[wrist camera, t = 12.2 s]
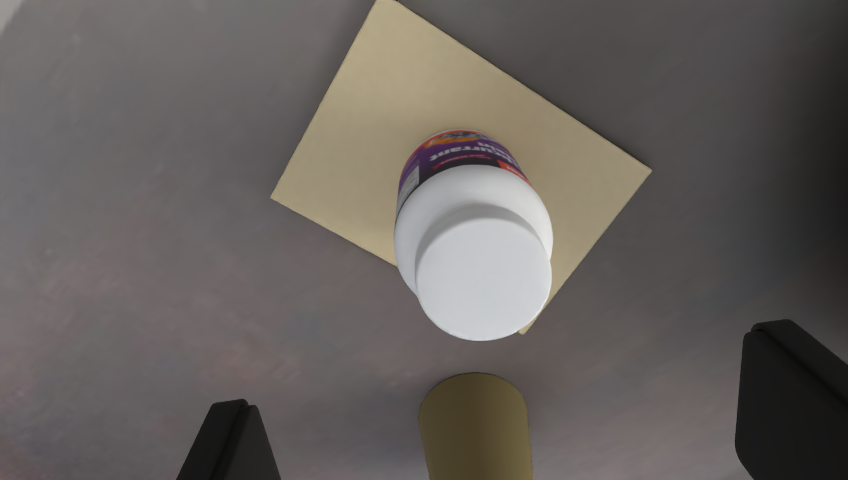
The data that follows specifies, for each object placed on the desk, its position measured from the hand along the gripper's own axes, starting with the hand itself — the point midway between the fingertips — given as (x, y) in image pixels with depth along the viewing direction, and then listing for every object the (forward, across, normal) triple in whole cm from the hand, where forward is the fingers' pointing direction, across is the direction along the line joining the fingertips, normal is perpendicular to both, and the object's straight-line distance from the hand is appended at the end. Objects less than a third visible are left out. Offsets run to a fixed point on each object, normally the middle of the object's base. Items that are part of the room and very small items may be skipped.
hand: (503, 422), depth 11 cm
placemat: (+16, -1, 0) cm, 16 cm away
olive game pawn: (+16, 0, +14) cm, 21 cm away
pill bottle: (+16, -1, 0) cm, 16 cm away
